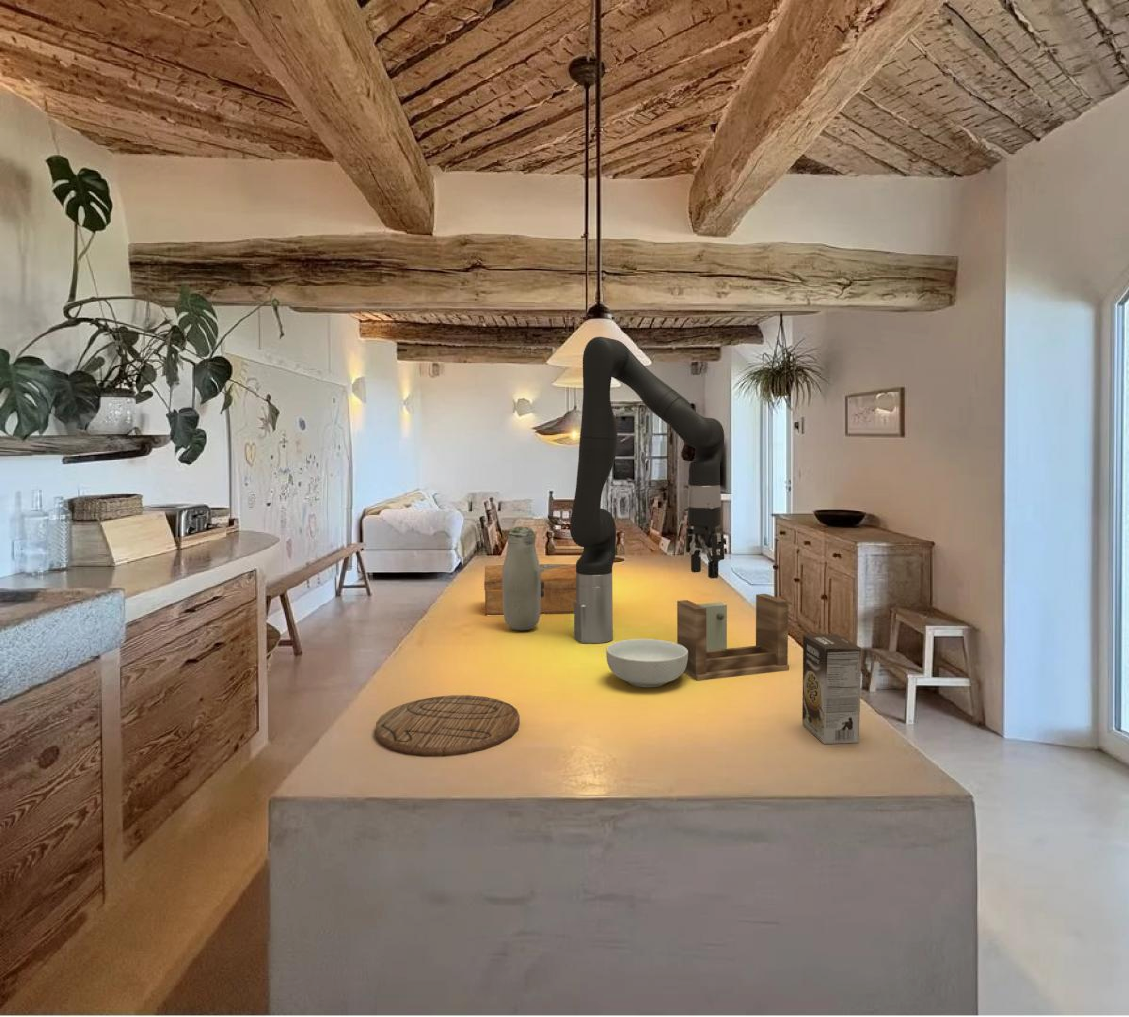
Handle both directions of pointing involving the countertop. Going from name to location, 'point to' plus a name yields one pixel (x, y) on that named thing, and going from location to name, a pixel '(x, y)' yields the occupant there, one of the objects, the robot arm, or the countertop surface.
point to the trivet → (447, 725)
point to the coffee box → (831, 688)
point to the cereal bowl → (647, 661)
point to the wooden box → (554, 589)
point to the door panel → (716, 626)
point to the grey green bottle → (521, 580)
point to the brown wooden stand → (739, 660)
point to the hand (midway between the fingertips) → (704, 575)
